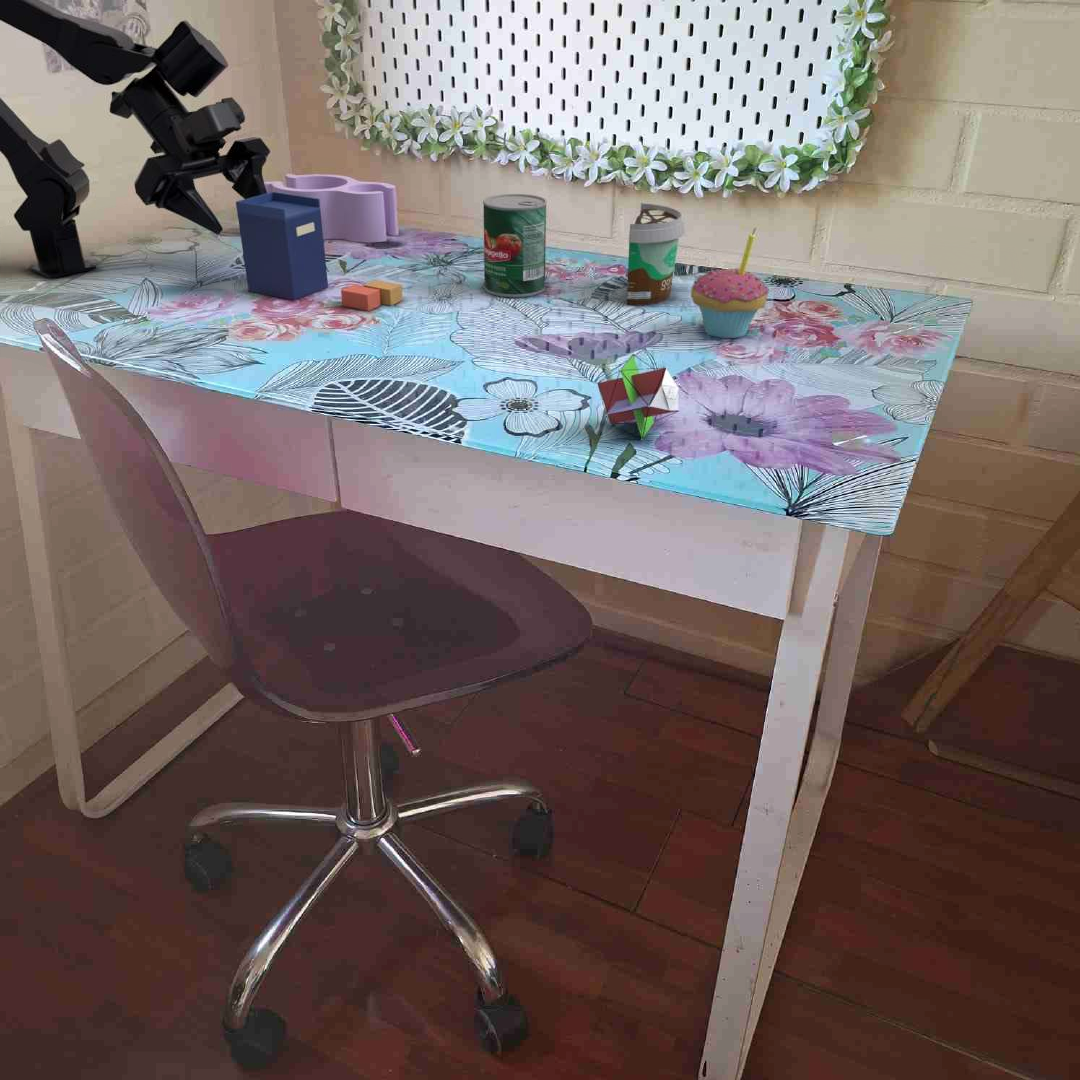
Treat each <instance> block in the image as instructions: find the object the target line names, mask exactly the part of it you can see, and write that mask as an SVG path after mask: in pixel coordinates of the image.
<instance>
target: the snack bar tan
mask: <svg viewBox="0 0 1080 1080" xmlns="http://www.w3.org/2000/svg"><path fill="white" fill-rule="evenodd" d="M363 287H367V288H373V289H378V290H380V303H381V305H384V306H389V307H392V306H394V305H396V304H398V303H400V302H403V298H404V297H403V286H402V284H400V283H394V282H389V281H383V280H378V279H374V280H372V281H370V282H368V283H365V284H363Z"/></svg>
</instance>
